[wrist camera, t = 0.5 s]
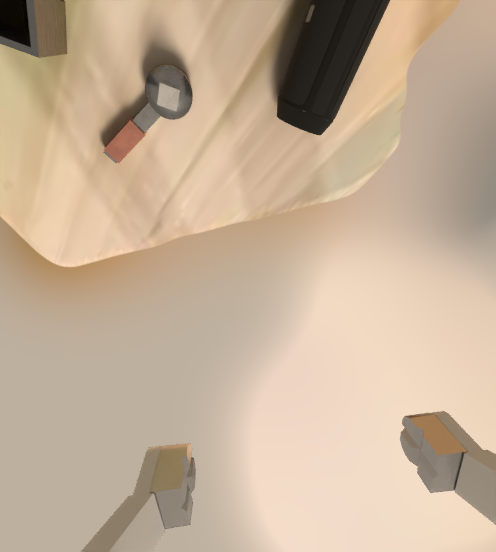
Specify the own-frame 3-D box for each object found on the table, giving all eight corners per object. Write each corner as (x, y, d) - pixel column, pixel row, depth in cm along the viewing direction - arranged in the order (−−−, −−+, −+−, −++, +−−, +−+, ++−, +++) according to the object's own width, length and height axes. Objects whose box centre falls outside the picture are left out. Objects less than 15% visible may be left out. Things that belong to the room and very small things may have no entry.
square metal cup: (19, 35, 37) (-22, 35, 30) (13, -21, 34) (-36, -37, 26) (67, 53, 39) (39, 57, 32) (65, 2, 36) (33, -7, 28)
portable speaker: (341, -121, 33) (385, -166, 26) (401, -74, 36) (456, -103, 29) (266, 109, 48) (280, 122, 41) (313, 127, 51) (335, 142, 44)
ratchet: (93, 138, 46) (83, 149, 42) (168, 52, 41) (166, 54, 36) (129, 169, 51) (123, 182, 46) (201, 95, 45) (202, 101, 40)
